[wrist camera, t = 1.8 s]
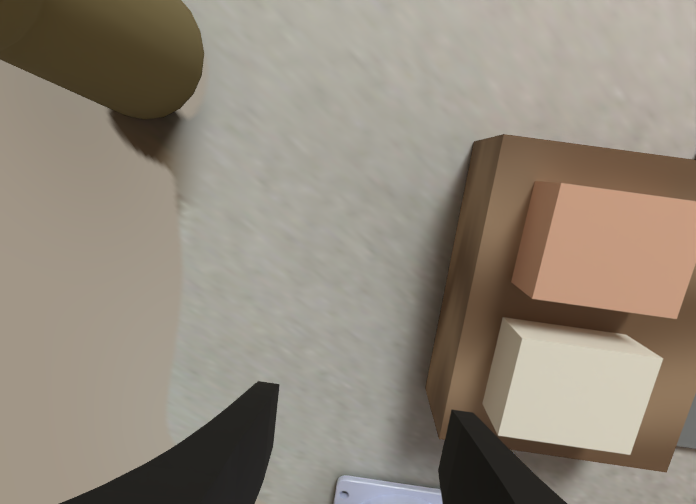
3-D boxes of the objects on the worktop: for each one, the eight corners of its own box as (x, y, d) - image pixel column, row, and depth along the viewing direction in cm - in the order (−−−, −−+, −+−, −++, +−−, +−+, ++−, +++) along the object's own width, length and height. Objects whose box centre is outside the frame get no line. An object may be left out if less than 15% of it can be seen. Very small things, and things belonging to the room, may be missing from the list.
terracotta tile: (636, 299, 15) (676, 319, 13) (511, 282, 15) (532, 298, 13) (668, 198, 14) (716, 203, 12) (534, 180, 14) (561, 182, 12)
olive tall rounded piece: (148, -53, 17) (-229, -433, 6) (229, 70, 18) (25, -77, 7) (50, 32, 18) (-424, -171, 7) (132, 144, 19) (-177, 113, 8)
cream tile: (598, 420, 16) (630, 454, 14) (482, 403, 17) (498, 435, 15) (626, 334, 16) (663, 358, 14) (502, 317, 16) (522, 338, 14)
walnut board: (609, 415, 21) (666, 472, 17) (425, 388, 21) (438, 439, 17) (688, 170, 18) (777, 170, 14) (473, 141, 18) (503, 134, 14)
